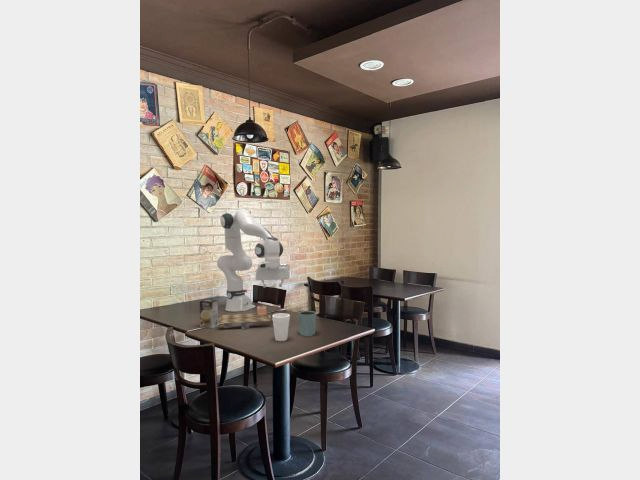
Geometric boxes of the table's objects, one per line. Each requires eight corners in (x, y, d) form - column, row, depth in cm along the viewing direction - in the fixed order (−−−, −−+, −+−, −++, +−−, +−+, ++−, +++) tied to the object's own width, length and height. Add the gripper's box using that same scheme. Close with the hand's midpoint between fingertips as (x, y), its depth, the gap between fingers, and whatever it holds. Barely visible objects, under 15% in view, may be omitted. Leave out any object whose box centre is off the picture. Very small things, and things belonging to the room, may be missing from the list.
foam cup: (272, 336, 216) (272, 313, 216) (289, 336, 217) (289, 313, 216) (272, 342, 207) (272, 317, 206) (289, 341, 208) (289, 317, 207)
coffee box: (199, 327, 237) (198, 300, 236) (205, 324, 243) (205, 298, 242) (212, 328, 234) (212, 301, 233) (218, 325, 240) (218, 299, 239)
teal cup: (303, 337, 215) (302, 315, 215) (295, 332, 224) (295, 311, 224) (319, 334, 220) (319, 313, 219) (311, 330, 229) (311, 309, 228)
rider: (265, 314, 241) (265, 304, 241) (266, 317, 235) (266, 306, 235) (257, 315, 240) (257, 304, 240) (258, 317, 234) (257, 307, 233)
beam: (269, 324, 243) (269, 312, 242) (270, 327, 235) (270, 315, 235) (219, 327, 236) (219, 314, 236) (219, 330, 229) (218, 318, 228)
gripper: (289, 263, 242) (289, 285, 243) (255, 264, 238) (255, 286, 239) (290, 264, 236) (290, 287, 237) (255, 265, 232) (255, 288, 233)
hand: (272, 287), depth 238 cm, fingers open, 8 cm apart
